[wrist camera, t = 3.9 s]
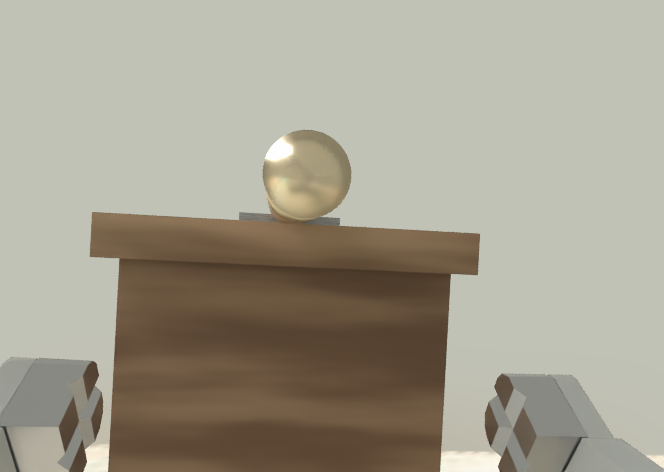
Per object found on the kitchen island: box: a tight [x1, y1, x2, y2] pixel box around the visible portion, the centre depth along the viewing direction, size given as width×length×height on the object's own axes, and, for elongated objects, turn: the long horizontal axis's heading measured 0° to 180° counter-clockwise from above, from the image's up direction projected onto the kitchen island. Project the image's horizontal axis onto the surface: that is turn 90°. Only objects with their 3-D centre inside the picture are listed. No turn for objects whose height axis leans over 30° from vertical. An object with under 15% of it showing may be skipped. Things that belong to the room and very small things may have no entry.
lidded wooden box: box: [90, 212, 480, 472], centre depth 33 cm, size 18×18×26 cm
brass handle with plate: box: [239, 130, 351, 226], centre depth 27 cm, size 24×6×3 cm, turn 6°
